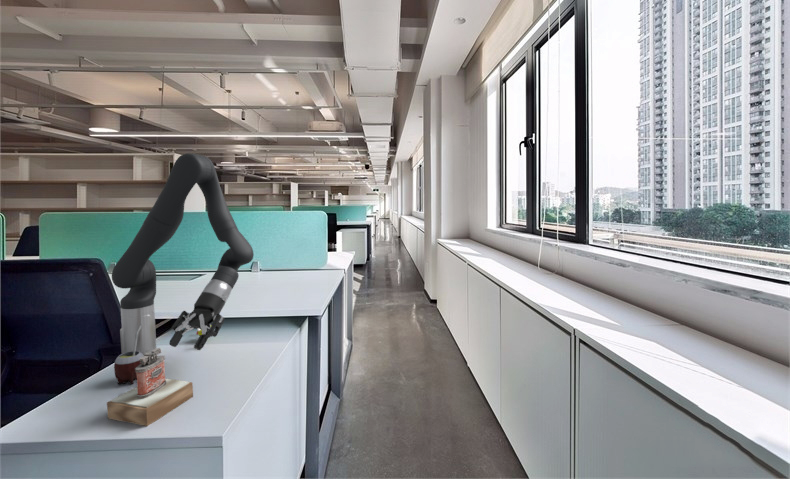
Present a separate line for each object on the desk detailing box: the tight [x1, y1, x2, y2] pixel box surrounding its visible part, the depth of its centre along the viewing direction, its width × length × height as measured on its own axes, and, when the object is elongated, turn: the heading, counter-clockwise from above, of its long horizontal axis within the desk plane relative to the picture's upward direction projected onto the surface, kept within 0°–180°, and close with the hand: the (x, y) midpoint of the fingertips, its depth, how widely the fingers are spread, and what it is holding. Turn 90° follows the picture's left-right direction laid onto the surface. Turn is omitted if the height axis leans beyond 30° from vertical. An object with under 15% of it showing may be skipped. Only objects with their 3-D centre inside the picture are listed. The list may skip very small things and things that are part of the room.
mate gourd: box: [113, 325, 143, 386], centre depth 100 cm, size 8×8×15 cm
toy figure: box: [196, 328, 202, 337], centre depth 131 cm, size 18×6×7 cm, turn 27°
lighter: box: [135, 347, 166, 399], centre depth 87 cm, size 8×3×10 cm, turn 177°
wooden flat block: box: [106, 377, 194, 427], centre depth 87 cm, size 12×13×4 cm
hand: (184, 347), depth 96 cm, fingers open, 8 cm apart
